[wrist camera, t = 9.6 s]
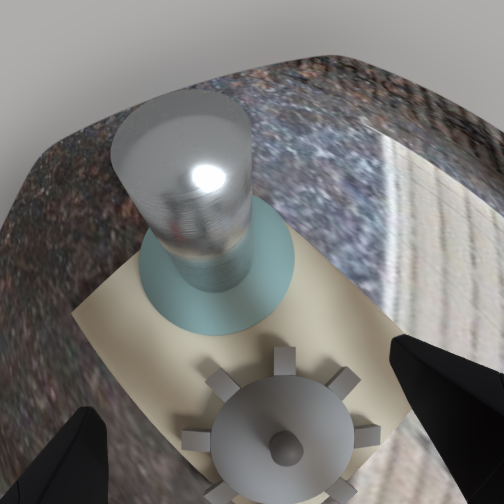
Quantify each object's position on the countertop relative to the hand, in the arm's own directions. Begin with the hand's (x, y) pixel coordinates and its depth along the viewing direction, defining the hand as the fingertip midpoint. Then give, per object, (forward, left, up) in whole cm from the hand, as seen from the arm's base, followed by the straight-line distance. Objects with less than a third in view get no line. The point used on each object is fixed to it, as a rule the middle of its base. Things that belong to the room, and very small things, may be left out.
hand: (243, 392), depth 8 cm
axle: (+4, +7, -10) cm, 13 cm away
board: (+1, +1, -11) cm, 11 cm away
